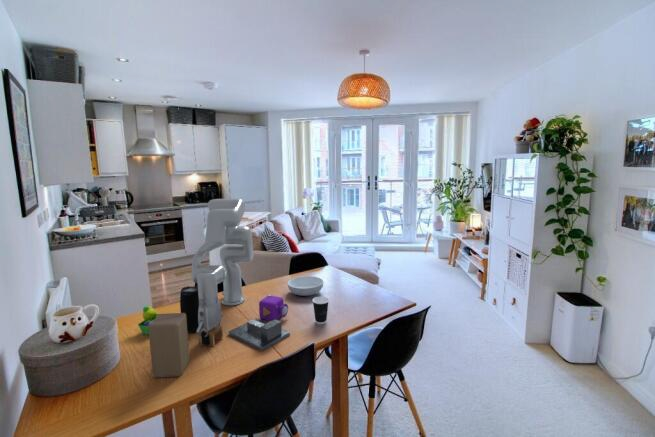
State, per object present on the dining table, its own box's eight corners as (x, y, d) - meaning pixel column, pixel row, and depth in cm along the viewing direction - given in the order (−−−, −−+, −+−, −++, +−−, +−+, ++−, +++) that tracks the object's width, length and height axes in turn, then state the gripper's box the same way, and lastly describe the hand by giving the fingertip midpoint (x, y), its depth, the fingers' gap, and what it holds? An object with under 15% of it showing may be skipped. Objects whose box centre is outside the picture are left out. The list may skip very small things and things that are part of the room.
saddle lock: (199, 344, 138) (198, 330, 137) (209, 336, 144) (208, 323, 143) (213, 346, 136) (212, 333, 135) (222, 339, 142) (222, 326, 141)
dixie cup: (317, 316, 162) (317, 295, 161) (332, 320, 159) (331, 298, 157) (309, 323, 155) (309, 301, 154) (324, 327, 152) (324, 304, 150)
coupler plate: (228, 334, 146) (227, 318, 144) (256, 321, 158) (256, 306, 157) (261, 351, 132) (261, 333, 131) (289, 335, 145) (289, 319, 144)
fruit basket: (151, 337, 144) (149, 313, 142) (135, 334, 146) (133, 310, 145) (171, 325, 154) (169, 302, 153) (155, 323, 157) (153, 300, 155)
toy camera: (284, 323, 155) (284, 303, 154) (257, 321, 158) (256, 301, 157) (291, 313, 166) (291, 295, 164) (266, 311, 169) (265, 293, 167)
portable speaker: (206, 324, 155) (203, 285, 152) (197, 334, 146) (194, 292, 143) (188, 324, 155) (185, 284, 152) (178, 334, 146) (175, 292, 143)
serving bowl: (303, 284, 208) (303, 273, 206) (330, 291, 195) (330, 280, 194) (280, 294, 191) (279, 283, 190) (308, 303, 179) (308, 291, 178)
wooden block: (163, 362, 125) (159, 312, 122) (190, 360, 126) (186, 311, 123) (152, 379, 115) (146, 325, 112) (181, 377, 116) (177, 324, 113)
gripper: (202, 309, 128) (205, 352, 131) (228, 293, 144) (230, 331, 147) (186, 307, 130) (189, 349, 133) (213, 291, 146) (216, 329, 149)
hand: (211, 339), depth 140 cm, fingers closed on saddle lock, 6 cm apart
